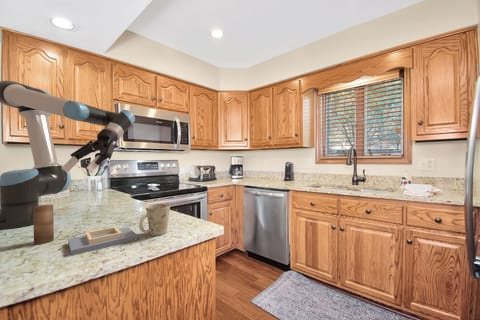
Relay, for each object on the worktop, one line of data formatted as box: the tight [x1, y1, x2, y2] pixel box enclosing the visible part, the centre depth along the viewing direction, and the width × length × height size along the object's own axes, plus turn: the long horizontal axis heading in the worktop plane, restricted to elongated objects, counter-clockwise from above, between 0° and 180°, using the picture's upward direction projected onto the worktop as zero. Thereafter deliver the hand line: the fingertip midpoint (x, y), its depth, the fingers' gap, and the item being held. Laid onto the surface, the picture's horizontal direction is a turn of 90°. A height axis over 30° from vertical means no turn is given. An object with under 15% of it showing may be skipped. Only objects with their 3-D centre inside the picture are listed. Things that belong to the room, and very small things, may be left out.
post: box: [32, 204, 55, 245], centre depth 73 cm, size 5×5×12 cm
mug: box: [138, 203, 171, 236], centre depth 79 cm, size 8×13×10 cm, turn 158°
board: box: [67, 226, 139, 256], centre depth 72 cm, size 12×18×3 cm, turn 132°
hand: (76, 170), depth 83 cm, fingers open, 13 cm apart
